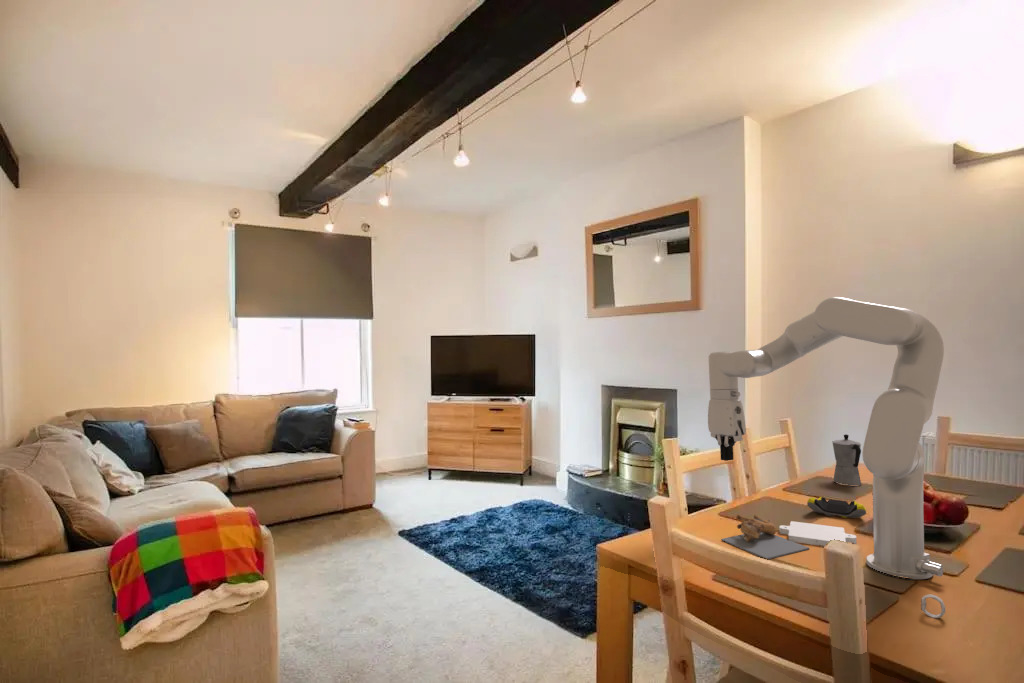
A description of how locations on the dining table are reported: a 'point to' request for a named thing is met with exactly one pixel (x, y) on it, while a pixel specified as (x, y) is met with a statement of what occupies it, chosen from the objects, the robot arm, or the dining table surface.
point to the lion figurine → (755, 527)
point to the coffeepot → (847, 461)
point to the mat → (766, 545)
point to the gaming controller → (837, 507)
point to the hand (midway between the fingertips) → (727, 459)
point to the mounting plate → (815, 533)
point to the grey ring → (923, 606)
